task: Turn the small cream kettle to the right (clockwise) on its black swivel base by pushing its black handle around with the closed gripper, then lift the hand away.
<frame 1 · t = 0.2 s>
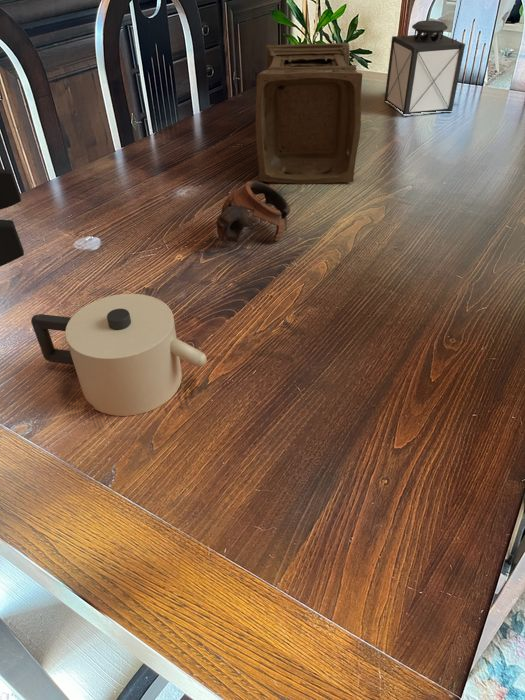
hand: (17, 209, 35), 23 cm above the table, tool horizontal, fingers open, 7 cm apart
ornamental box: (305, 147, 106), on the table
lantern: (416, 108, 123), on the table
kettle base: (135, 389, 55), on the table
kettle: (115, 347, 52), point 5 cm above the table, hinge at 0.0°
brown hollow curved piece: (247, 237, 79), on the table
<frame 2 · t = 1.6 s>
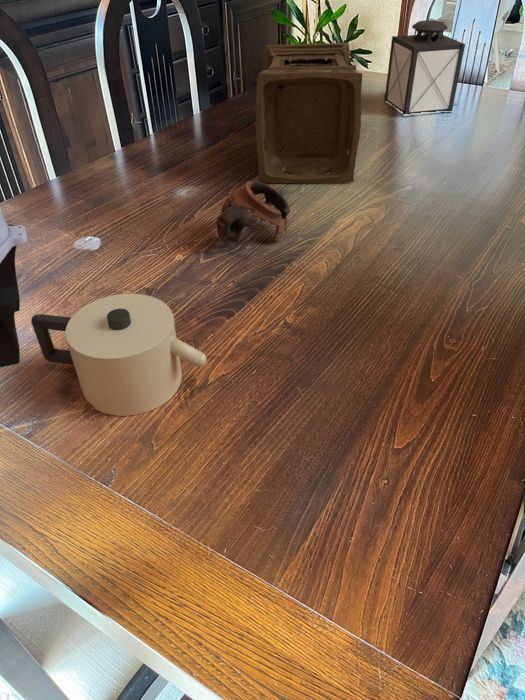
hand: (7, 335, 47), 9 cm above the table, tool pointing down, fingers open, 7 cm apart
nothing on the table moved.
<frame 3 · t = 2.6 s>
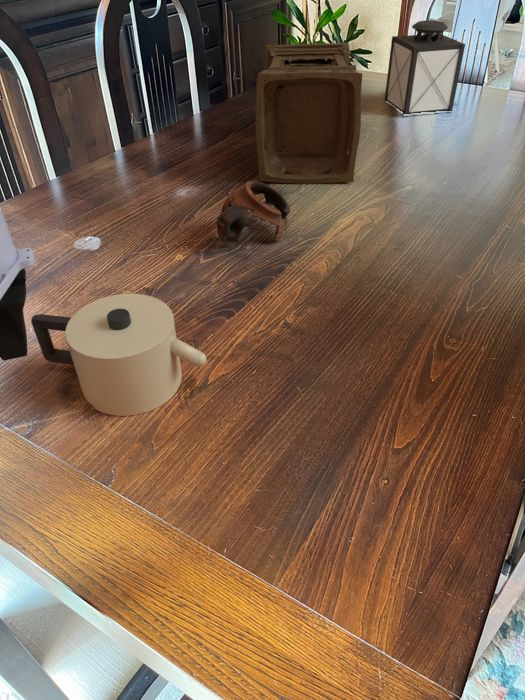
hand: (15, 353, 48), 7 cm above the table, tool pointing down, fingers closed
nothing on the table moved.
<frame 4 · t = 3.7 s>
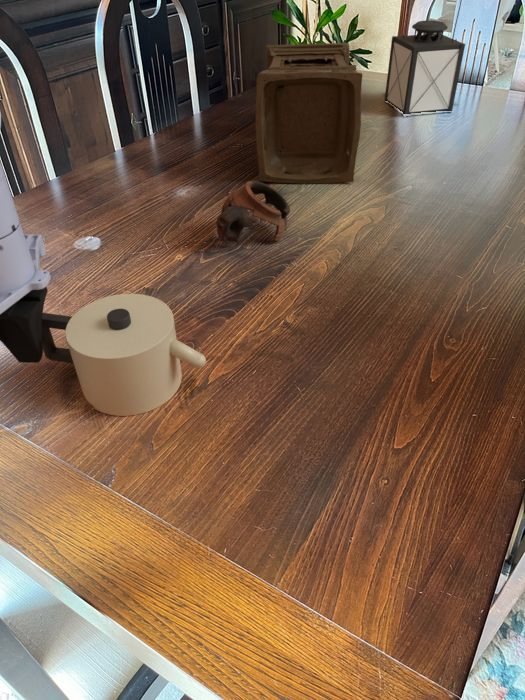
hand: (30, 358, 52), 4 cm above the table, tool pointing down, fingers closed
kettle: (115, 347, 52), point 5 cm above the table, hinge at -1.8°, touching gripper
everything else where it was.
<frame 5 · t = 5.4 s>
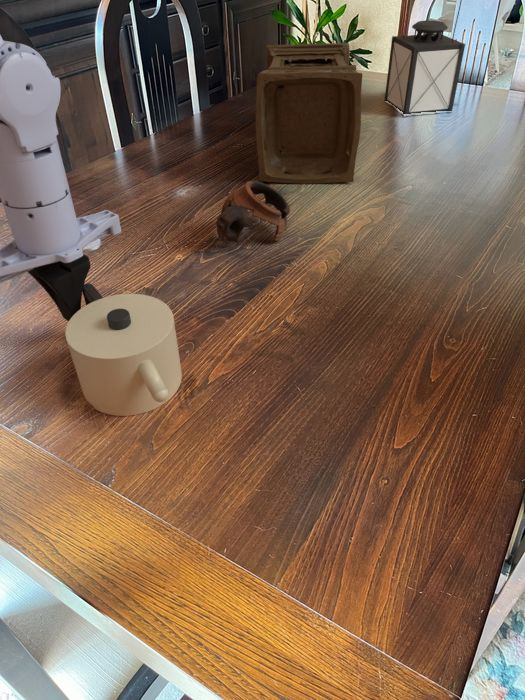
hand: (72, 319, 57), 4 cm above the table, tool pointing down, fingers closed
kettle: (121, 343, 52), point 5 cm above the table, hinge at -44.2°, touching gripper
everything else where it was.
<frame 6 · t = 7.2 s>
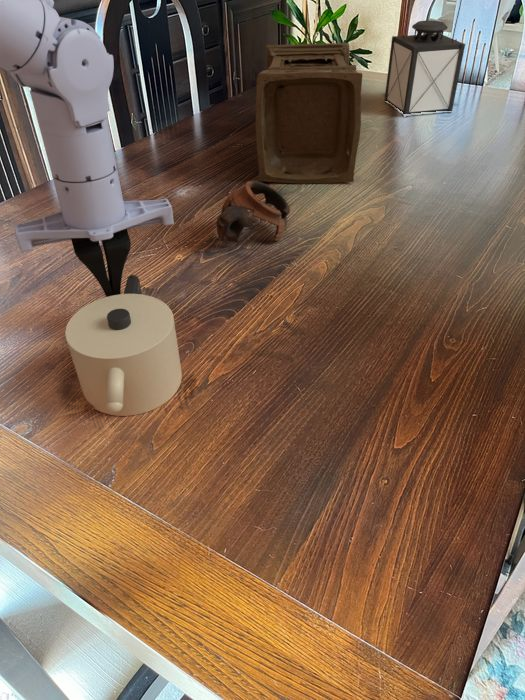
hand: (112, 295, 58), 5 cm above the table, tool pointing down, fingers closed
kettle: (127, 341, 53), point 5 cm above the table, hinge at -75.8°
everything else where it was.
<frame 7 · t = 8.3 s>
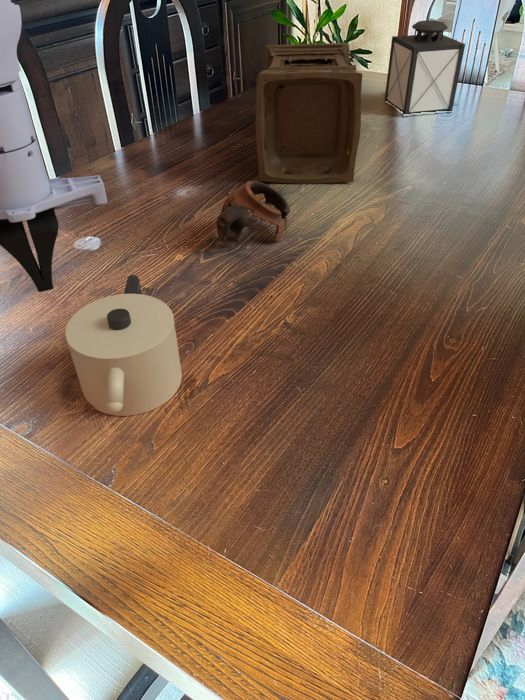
hand: (44, 285, 53), 9 cm above the table, tool pointing down, fingers closed
nothing on the table moved.
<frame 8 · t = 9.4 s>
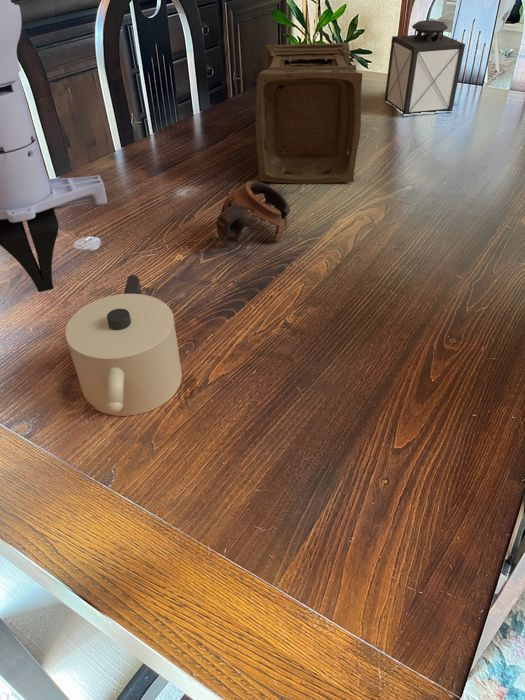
hand: (44, 285, 53), 9 cm above the table, tool pointing down, fingers closed
nothing on the table moved.
at the end: kettle at -76° (first picture: +0°); brown hollow curved piece moved 0.2 cm from its start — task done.
